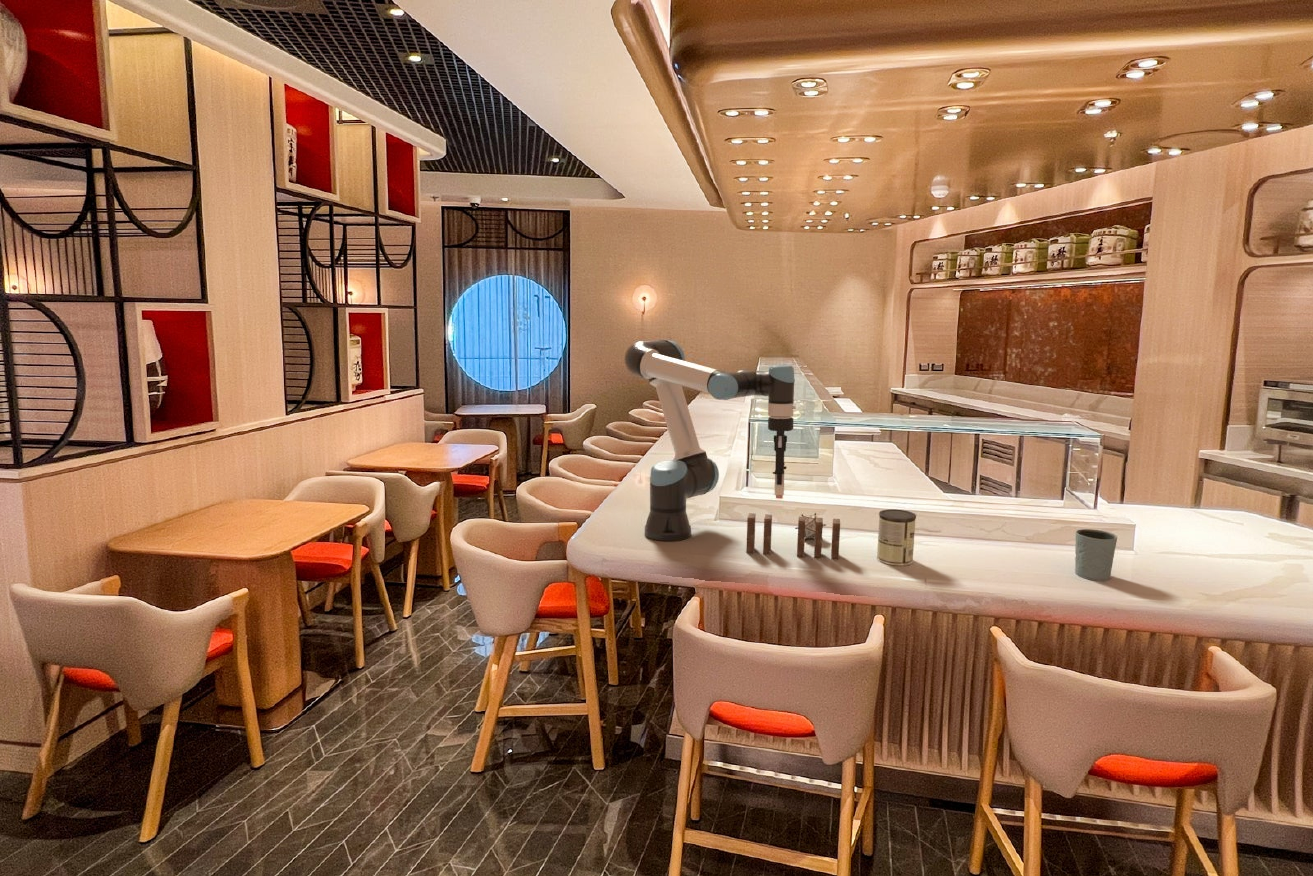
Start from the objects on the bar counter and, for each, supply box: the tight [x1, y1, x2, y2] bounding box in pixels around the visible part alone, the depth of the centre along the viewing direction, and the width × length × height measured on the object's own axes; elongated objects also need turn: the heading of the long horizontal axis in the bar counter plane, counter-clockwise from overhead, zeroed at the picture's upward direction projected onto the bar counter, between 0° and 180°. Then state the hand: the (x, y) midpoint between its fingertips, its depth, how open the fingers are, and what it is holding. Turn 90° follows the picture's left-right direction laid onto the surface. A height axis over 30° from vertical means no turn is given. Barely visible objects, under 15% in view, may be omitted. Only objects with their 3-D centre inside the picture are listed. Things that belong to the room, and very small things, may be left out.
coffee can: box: [876, 508, 917, 567], centre depth 223 cm, size 10×10×14 cm
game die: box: [794, 512, 827, 541], centre depth 243 cm, size 9×8×10 cm
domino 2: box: [762, 514, 773, 555], centre depth 229 cm, size 2×5×11 cm, turn 168°
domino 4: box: [796, 516, 806, 558], centre depth 227 cm, size 2×5×11 cm, turn 168°
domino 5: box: [813, 517, 824, 559], centre depth 226 cm, size 2×5×11 cm, turn 168°
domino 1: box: [745, 512, 757, 554], centre depth 230 cm, size 2×5×11 cm, turn 168°
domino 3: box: [775, 495, 784, 500], centre depth 231 cm, size 2×5×11 cm, turn 170°
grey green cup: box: [1074, 528, 1118, 582], centre depth 212 cm, size 10×10×12 cm
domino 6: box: [830, 518, 841, 561], centre depth 225 cm, size 2×5×11 cm, turn 168°
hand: (779, 492), depth 232 cm, fingers closed on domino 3, 5 cm apart
